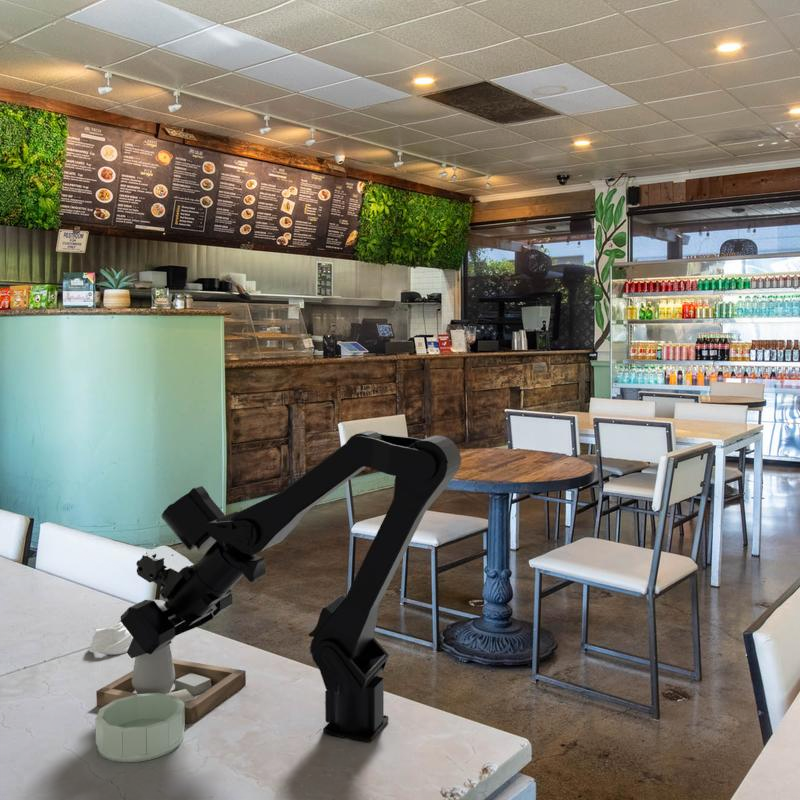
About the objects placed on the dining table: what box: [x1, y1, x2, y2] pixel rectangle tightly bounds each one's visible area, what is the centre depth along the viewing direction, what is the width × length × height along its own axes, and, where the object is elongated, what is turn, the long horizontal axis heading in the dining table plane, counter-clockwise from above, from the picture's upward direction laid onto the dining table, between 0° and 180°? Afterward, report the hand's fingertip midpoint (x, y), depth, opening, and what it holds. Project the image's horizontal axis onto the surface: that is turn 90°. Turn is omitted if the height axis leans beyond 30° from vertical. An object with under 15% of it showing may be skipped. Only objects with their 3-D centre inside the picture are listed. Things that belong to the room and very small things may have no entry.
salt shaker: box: [132, 599, 176, 694], centre depth 110 cm, size 6×6×13 cm
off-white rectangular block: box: [174, 673, 212, 696], centre depth 113 cm, size 4×3×2 cm
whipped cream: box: [87, 619, 133, 656], centre depth 128 cm, size 8×7×5 cm
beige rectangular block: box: [167, 689, 196, 703], centre depth 107 cm, size 4×3×2 cm
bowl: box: [94, 693, 186, 763], centre depth 97 cm, size 10×10×4 cm
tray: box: [96, 658, 247, 725], centre depth 111 cm, size 15×13×2 cm
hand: (144, 646), depth 111 cm, fingers open, 6 cm apart
